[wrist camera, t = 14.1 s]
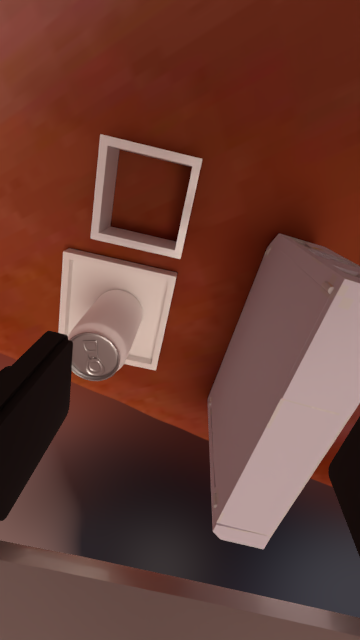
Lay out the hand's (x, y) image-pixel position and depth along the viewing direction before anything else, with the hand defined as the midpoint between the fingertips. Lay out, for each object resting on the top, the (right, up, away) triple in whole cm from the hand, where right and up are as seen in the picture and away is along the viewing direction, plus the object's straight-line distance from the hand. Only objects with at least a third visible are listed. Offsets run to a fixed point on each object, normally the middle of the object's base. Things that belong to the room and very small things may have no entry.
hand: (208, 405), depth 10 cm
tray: (-10, +4, +33) cm, 34 cm away
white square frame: (-4, +17, +26) cm, 32 cm away
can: (-9, +4, +32) cm, 34 cm away
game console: (+9, +1, +33) cm, 34 cm away
